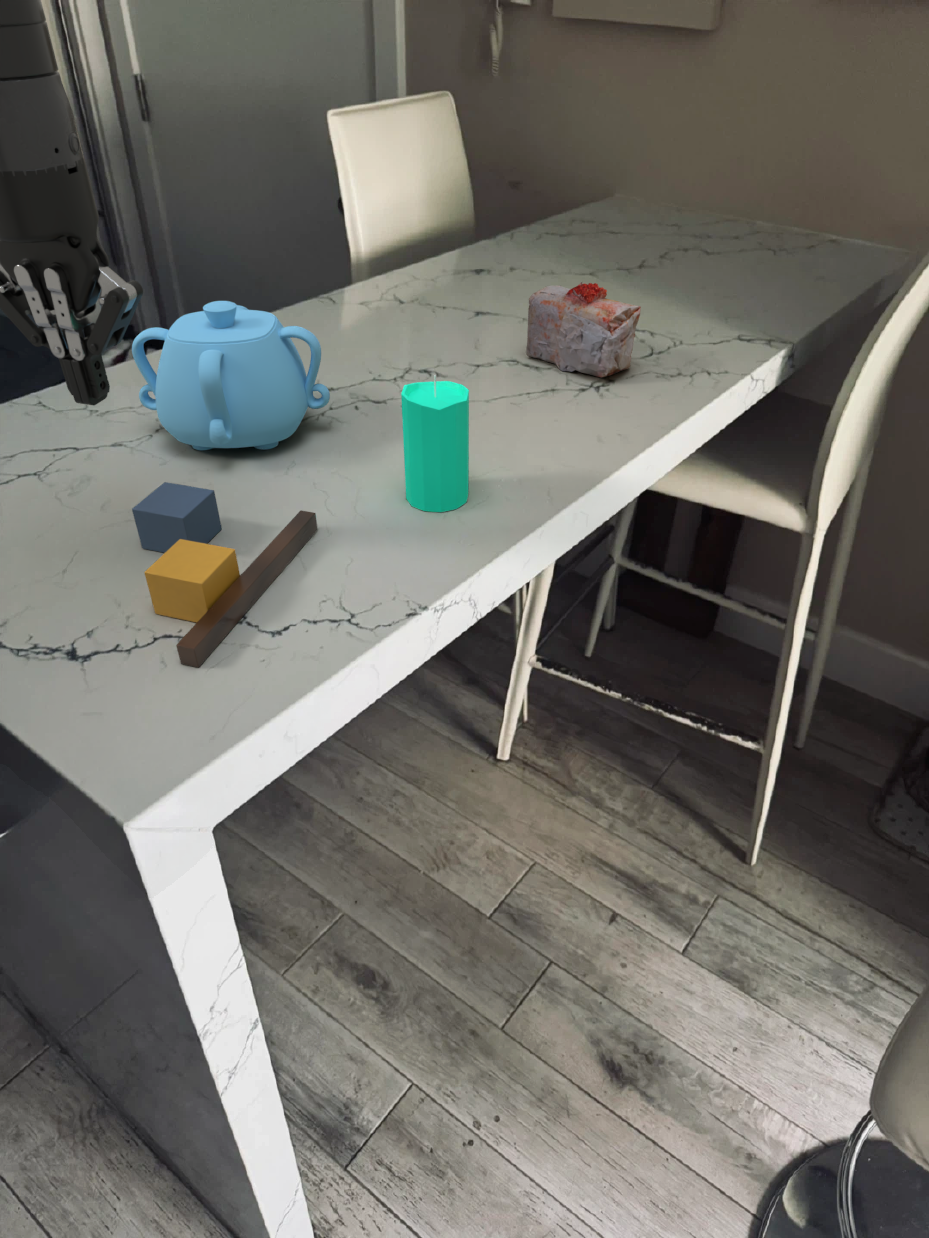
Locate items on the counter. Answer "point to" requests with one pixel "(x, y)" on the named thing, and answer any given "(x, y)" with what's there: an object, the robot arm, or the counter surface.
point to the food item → (581, 329)
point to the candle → (436, 444)
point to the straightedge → (245, 590)
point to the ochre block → (191, 579)
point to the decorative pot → (230, 377)
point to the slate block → (176, 516)
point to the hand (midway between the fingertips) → (92, 400)
